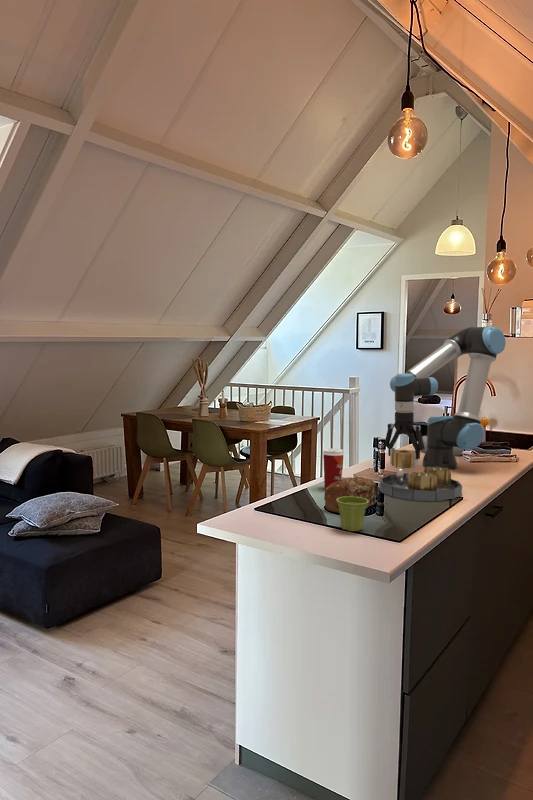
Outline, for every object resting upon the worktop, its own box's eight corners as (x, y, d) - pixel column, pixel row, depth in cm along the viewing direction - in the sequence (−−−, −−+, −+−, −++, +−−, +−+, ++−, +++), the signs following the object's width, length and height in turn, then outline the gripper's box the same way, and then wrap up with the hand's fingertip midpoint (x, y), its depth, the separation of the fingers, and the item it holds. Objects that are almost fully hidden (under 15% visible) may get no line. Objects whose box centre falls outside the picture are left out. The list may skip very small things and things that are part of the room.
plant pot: (333, 524, 186) (333, 496, 185) (363, 523, 187) (364, 495, 186) (339, 533, 177) (339, 504, 176) (371, 533, 178) (372, 503, 177)
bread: (350, 516, 195) (351, 485, 195) (322, 510, 202) (322, 480, 201) (377, 504, 210) (378, 476, 209) (350, 499, 217) (351, 472, 216)
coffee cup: (342, 492, 227) (343, 452, 226) (320, 490, 229) (321, 451, 228) (344, 487, 235) (345, 448, 234) (323, 485, 237) (323, 447, 236)
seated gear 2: (430, 480, 240) (430, 465, 239) (453, 484, 234) (454, 468, 233) (419, 484, 232) (420, 469, 232) (444, 488, 226) (445, 472, 226)
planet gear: (398, 462, 259) (398, 448, 259) (419, 465, 253) (419, 451, 253) (388, 466, 252) (388, 452, 251) (409, 469, 246) (409, 454, 245)
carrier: (400, 479, 251) (400, 461, 250) (471, 490, 233) (472, 470, 232) (365, 492, 227) (366, 472, 227) (442, 505, 210) (443, 484, 209)
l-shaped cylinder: (423, 454, 303) (464, 455, 302) (423, 433, 305) (464, 434, 303) (416, 456, 321) (455, 457, 320) (416, 436, 322) (455, 436, 321)
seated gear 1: (415, 486, 229) (415, 470, 228) (439, 490, 223) (440, 474, 222) (404, 491, 221) (404, 475, 221) (429, 495, 215) (430, 478, 215)
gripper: (375, 410, 254) (375, 463, 256) (426, 414, 240) (425, 470, 243) (383, 409, 260) (383, 460, 262) (433, 412, 246) (433, 466, 249)
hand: (403, 465), depth 252 cm, fingers closed on planet gear, 10 cm apart
